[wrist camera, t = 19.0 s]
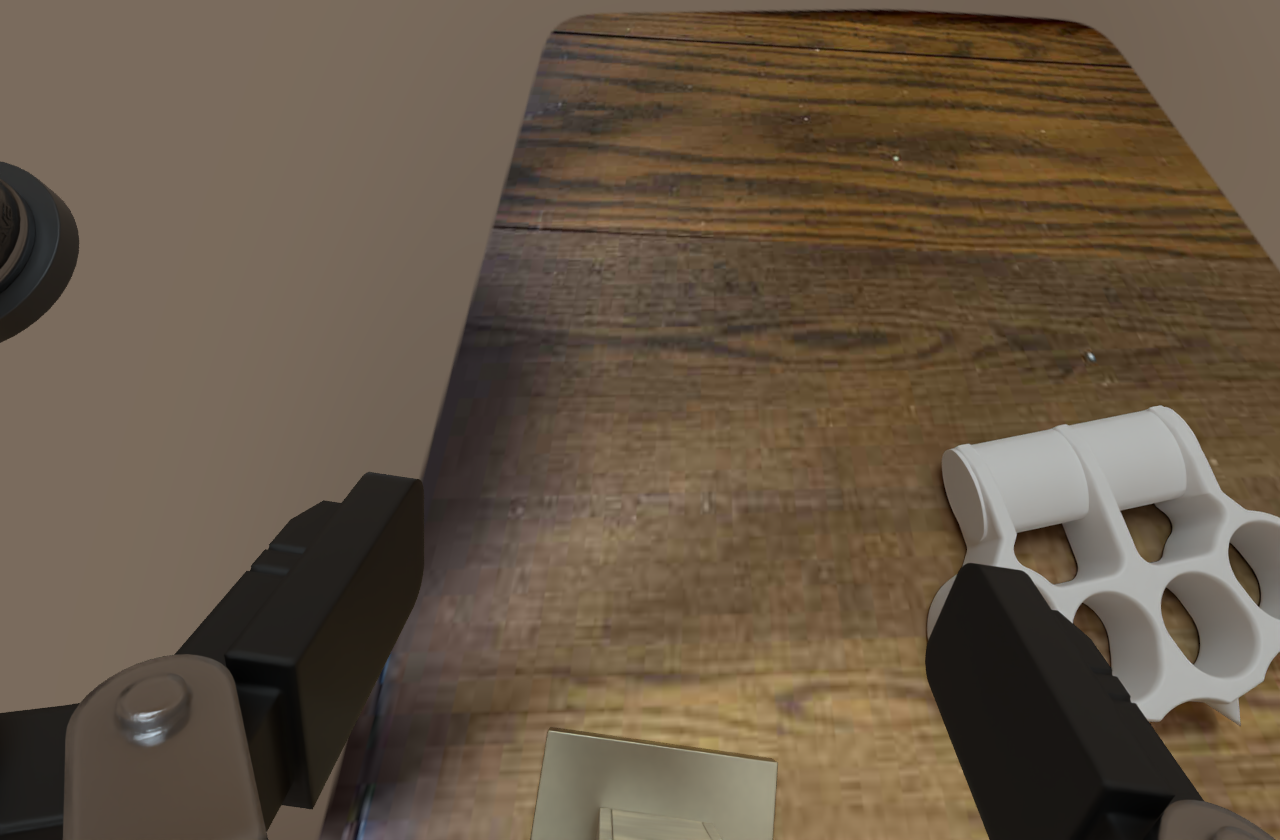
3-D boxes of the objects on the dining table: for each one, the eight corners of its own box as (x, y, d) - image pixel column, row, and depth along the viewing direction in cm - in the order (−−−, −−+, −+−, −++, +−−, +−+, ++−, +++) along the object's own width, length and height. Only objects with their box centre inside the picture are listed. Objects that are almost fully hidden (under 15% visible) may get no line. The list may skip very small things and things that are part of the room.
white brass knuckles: (1189, 407, 38) (1322, 693, 33) (872, 470, 36) (970, 783, 32) (1242, 385, 35) (1398, 698, 30) (898, 453, 33) (1011, 799, 28)
